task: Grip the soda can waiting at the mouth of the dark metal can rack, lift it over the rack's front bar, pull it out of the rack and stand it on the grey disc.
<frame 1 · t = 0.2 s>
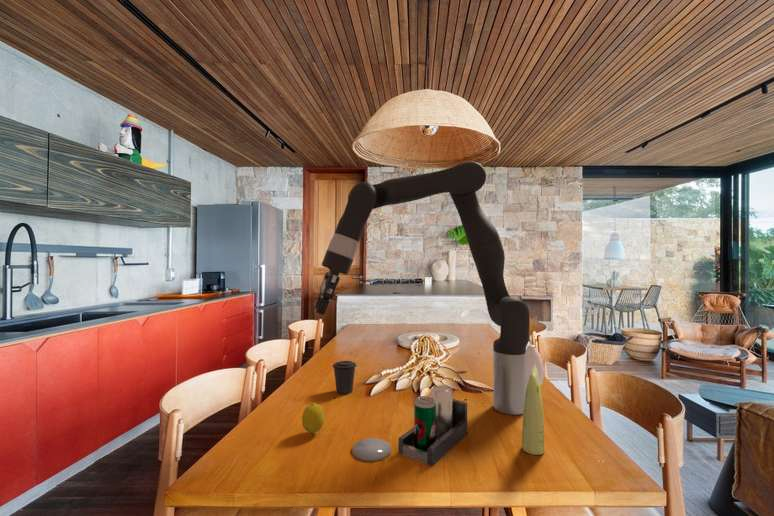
hand: (319, 311, 93), 31 cm above the table, tool tilted 20°, fingers open, 8 cm apart
grey metal cylinder: (442, 436, 89), resting in can rack
coffee cup: (344, 392, 120), on the table
lemon: (313, 434, 91), on the table
soda can: (425, 451, 83), resting in can rack
tube: (532, 451, 83), on the table
grey disc: (371, 450, 83), on the table
can rack: (434, 442, 86), on the table
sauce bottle: (531, 390, 121), on the table
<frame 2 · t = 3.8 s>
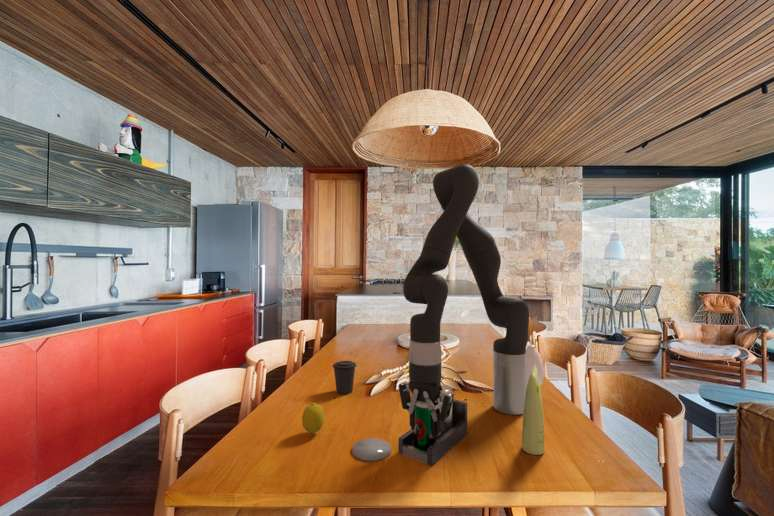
hand: (425, 431, 83), 4 cm above the table, tool pointing down, fingers closed on soda can, 5 cm apart
soda can: (425, 451, 83), resting in can rack, touching gripper
everything else where it was.
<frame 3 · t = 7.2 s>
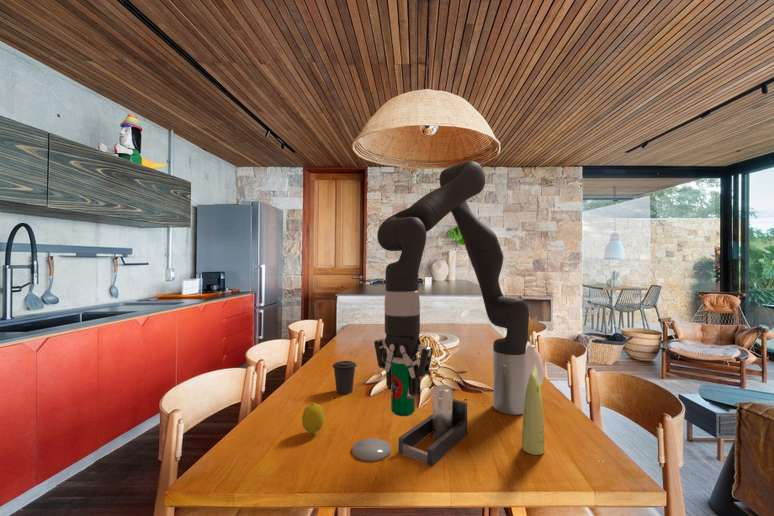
hand: (402, 391, 75), 17 cm above the table, tool pointing down, fingers closed on soda can, 5 cm apart
soda can: (403, 413, 75), point 12 cm above the table, touching gripper
everything else where it was.
when the fingers open (5 cm above the table, at t = 10.6 s): soda can stays where it is, resting on grey disc.
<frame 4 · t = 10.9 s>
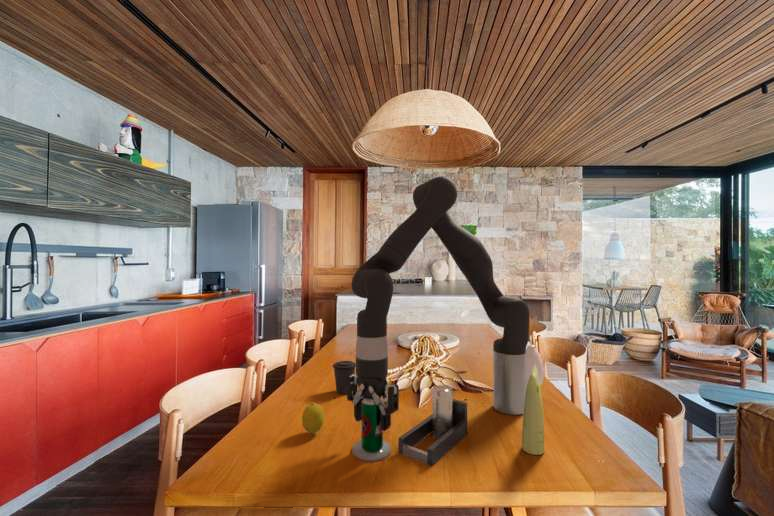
hand: (371, 424, 83), 6 cm above the table, tool pointing down, fingers open, 7 cm apart
soda can: (372, 448, 83), resting on grey disc
everything else where it was.
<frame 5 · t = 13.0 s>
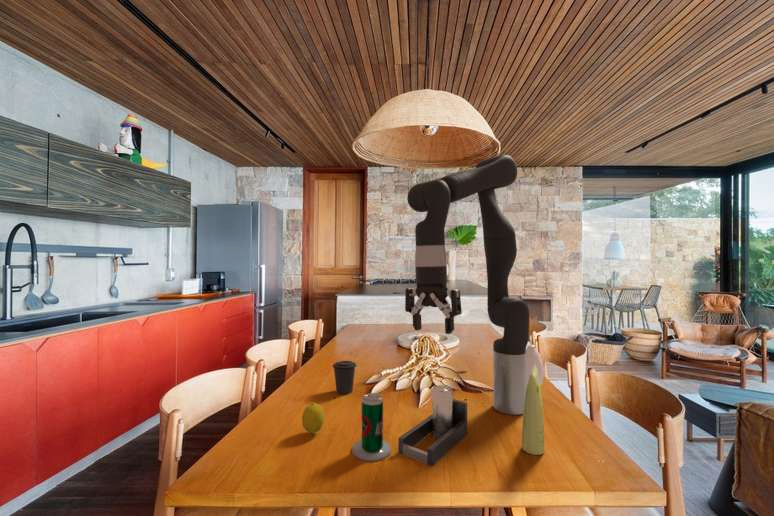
hand: (432, 331, 85), 27 cm above the table, tool pointing down, fingers open, 8 cm apart
nothing on the table moved.
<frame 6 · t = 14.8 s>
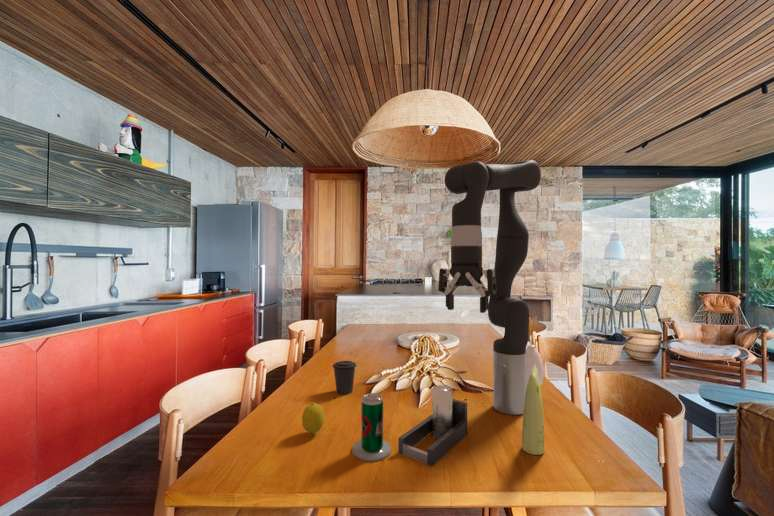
hand: (466, 310, 87), 32 cm above the table, tool pointing down, fingers open, 8 cm apart
nothing on the table moved.
at the end: soda can inside the target area on the grey disc (0.1 cm from its centre), point 0.4 cm above the grey disc's base; soda can tilted 0°; the gripper is holding nothing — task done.
